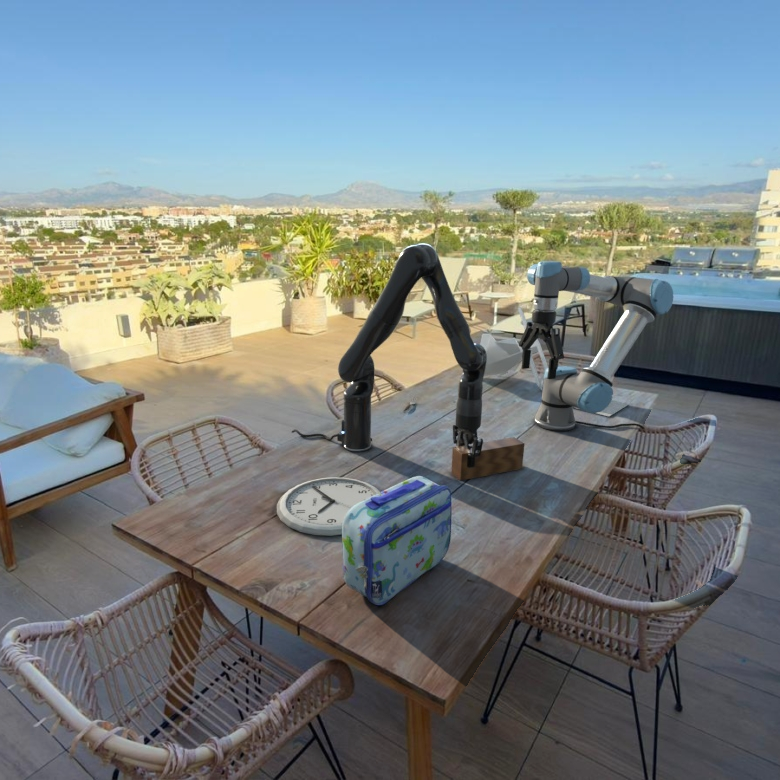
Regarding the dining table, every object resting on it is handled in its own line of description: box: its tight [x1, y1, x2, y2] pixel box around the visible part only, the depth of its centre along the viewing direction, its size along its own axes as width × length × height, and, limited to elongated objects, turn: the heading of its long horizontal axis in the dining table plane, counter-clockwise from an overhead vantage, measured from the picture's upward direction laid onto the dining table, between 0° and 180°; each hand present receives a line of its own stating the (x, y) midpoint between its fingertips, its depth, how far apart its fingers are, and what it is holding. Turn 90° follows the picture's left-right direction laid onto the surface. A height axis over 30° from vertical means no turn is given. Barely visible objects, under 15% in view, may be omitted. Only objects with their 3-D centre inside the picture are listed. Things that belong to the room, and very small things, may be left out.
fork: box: [403, 396, 419, 412], centre depth 222 cm, size 3×16×2 cm, turn 160°
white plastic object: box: [479, 306, 549, 391], centre depth 258 cm, size 37×45×31 cm
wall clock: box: [276, 476, 382, 537], centre depth 142 cm, size 30×2×30 cm
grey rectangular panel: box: [573, 400, 629, 418], centre depth 226 cm, size 21×1×15 cm
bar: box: [450, 436, 526, 481], centre depth 163 cm, size 23×6×9 cm, turn 113°
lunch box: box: [341, 475, 453, 606], centre depth 111 cm, size 26×11×21 cm, turn 134°
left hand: (465, 462), depth 160 cm, fingers closed on bar, 5 cm apart
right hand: (537, 373), depth 176 cm, fingers open, 13 cm apart
